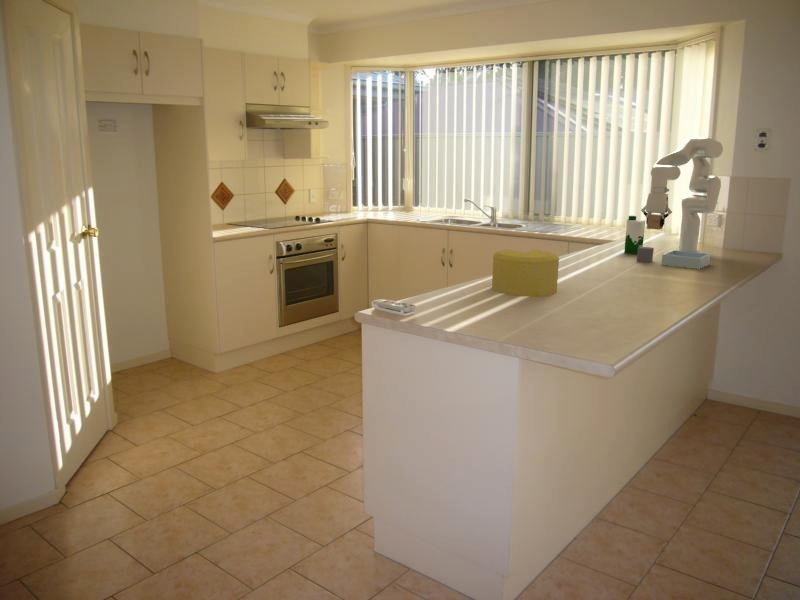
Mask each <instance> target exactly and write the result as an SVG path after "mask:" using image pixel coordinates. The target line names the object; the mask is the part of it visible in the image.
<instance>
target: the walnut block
mask: <svg viewBox="0 0 800 600" xmlns="http://www.w3.org/2000/svg"><path fill="white" fill-rule="evenodd" d="M661 218H662V217H661V214H660V213H652V214H650V215H648V222H647V224H646V229H649V230H662V229H663V227H664V225H663V226H662V227H660V221H661Z"/></svg>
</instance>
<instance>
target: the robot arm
mask: <svg viewBox="0 0 800 600" xmlns="http://www.w3.org/2000/svg"><path fill="white" fill-rule="evenodd" d="M723 152H724V148H723V143H721V142H720V141H718V140H716V139H713V138H711V137H707V136H701V137H700V136H694V137H693V136H692V137H688V138H687V139H685V140H684V142H683V143H682V144H681V145H680V146H679V147H678V148H677V149H676V150H675V151H674V152H671V153H669V154H666V155H665V156H663V157H661V158H659V159H658V160H657V161H656V162H655V163H654V165H653V166H652V168H651V171H650V176H651V183H650V192H648V196H647V199H646V205H645V206H644V207H642V208H641V213H643V215H644V216H645V225H647V222H648V215H650V214H659V215H661V217H662V218H661V221H660V227H662V226H663V227H664V226H665V219H666V218H668V217H669V216H670V215H671V214H673V211H672V210H671V209H670V207H669V194H668V193H667V192H670V189H669V188H668V187H667V186H668V181H676V180H678V178H679V177H680V176H681V169H680V167H681V166H684V165H687V164H688V163H689V162H690V161H691V160H692V163H693V168H692V172H691V176H690V180H689V184H688V185H689V186H688V188H689V190H690V192H692V193H697V194H687V195H685V196H684V197H683V198H681V199H682V200H681V223H680V233H679V243H678V248H675V250H677V251H686V252H696V253H701V250H700V249H698V245H699V236H700V230H701V228H700V227H701V217H700V216H699V214H704V215H705V214H706V215H708V214H709V215H710V214H712V213H713V212H715V209H716V207H717V203H718V199H719V195H720V192H721V188H722V183H721V178H720V177H719V176H716V175H710V171H711V165H710V162H709V160H708V159H718V158H719V157H721V155H722V154H723ZM701 194H706V195H701Z"/></svg>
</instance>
